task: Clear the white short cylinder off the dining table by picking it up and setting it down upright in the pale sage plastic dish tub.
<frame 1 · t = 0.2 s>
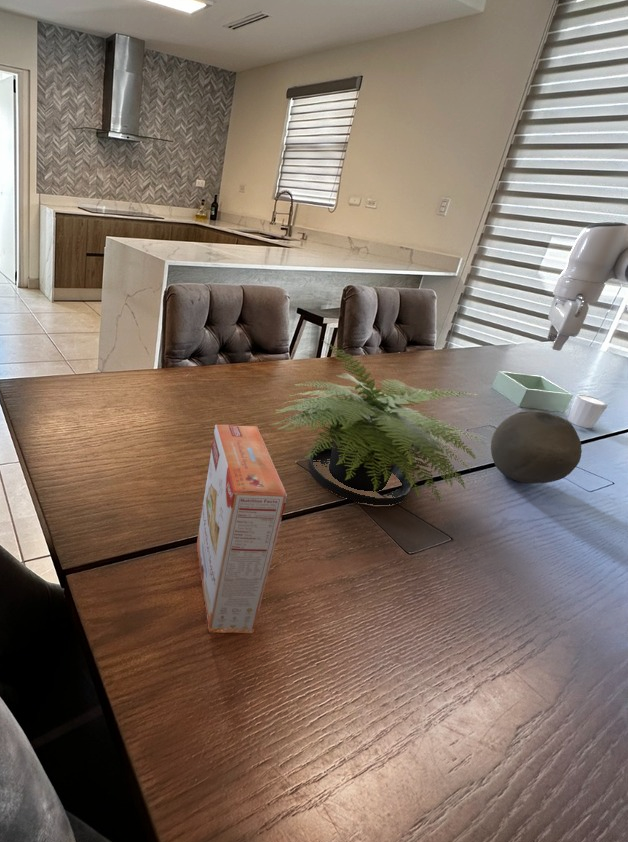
hand: (552, 344, 119), 20 cm above the table, tool pointing down, fingers open, 8 cm apart
dark brown rounded lump: (518, 480, 96), on the table
fern plant: (358, 478, 90), on the table
dish tub: (526, 399, 138), on the table
cracker box: (220, 588, 62), on the table
white short cylinder: (579, 423, 127), on the table
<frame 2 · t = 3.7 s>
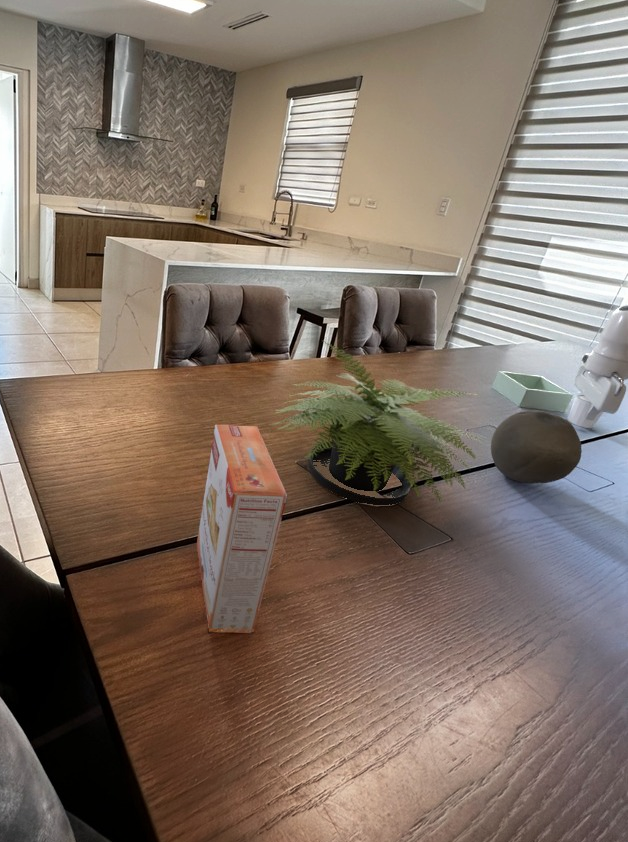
hand: (584, 414, 126), 3 cm above the table, tool pointing down, fingers closed on white short cylinder, 5 cm apart
white short cylinder: (579, 423, 127), on the table, touching gripper
everything else where it was.
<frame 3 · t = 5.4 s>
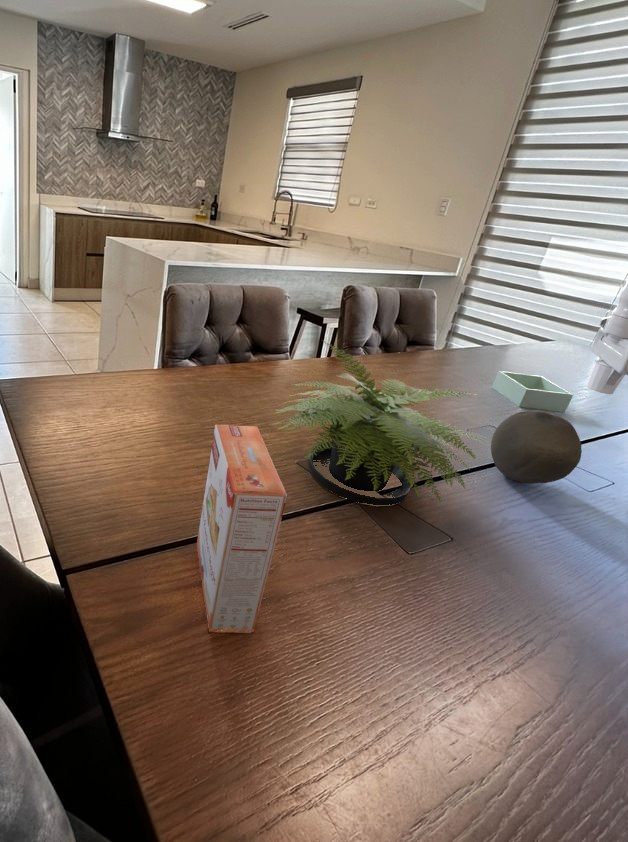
hand: (603, 380, 121), 13 cm above the table, tool pointing down, fingers closed on white short cylinder, 5 cm apart
white short cylinder: (599, 390, 122), point 10 cm above the table, touching gripper
everything else where it was.
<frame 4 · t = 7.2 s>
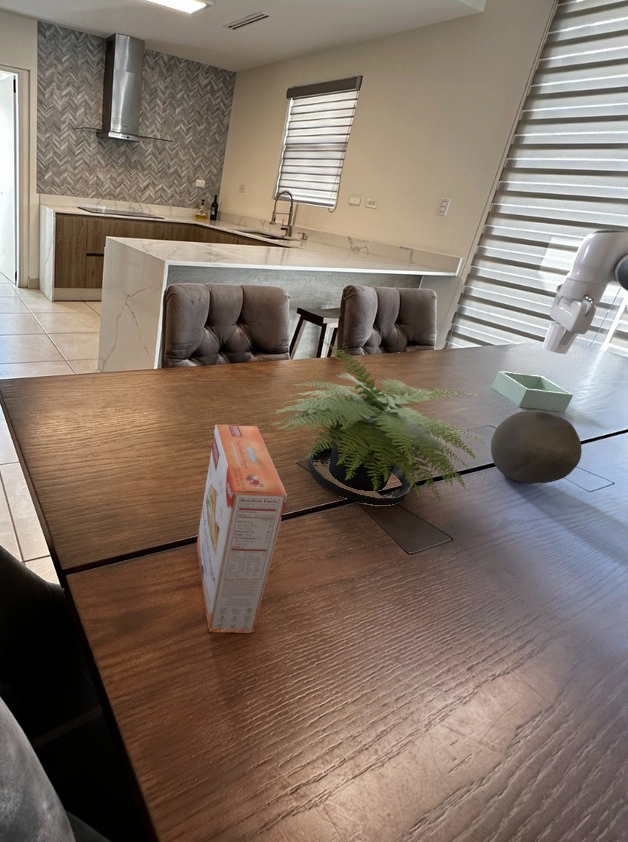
hand: (558, 341, 130), 19 cm above the table, tool pointing down, fingers closed on white short cylinder, 5 cm apart
white short cylinder: (553, 350, 131), point 16 cm above the table, touching gripper
everything else where it was.
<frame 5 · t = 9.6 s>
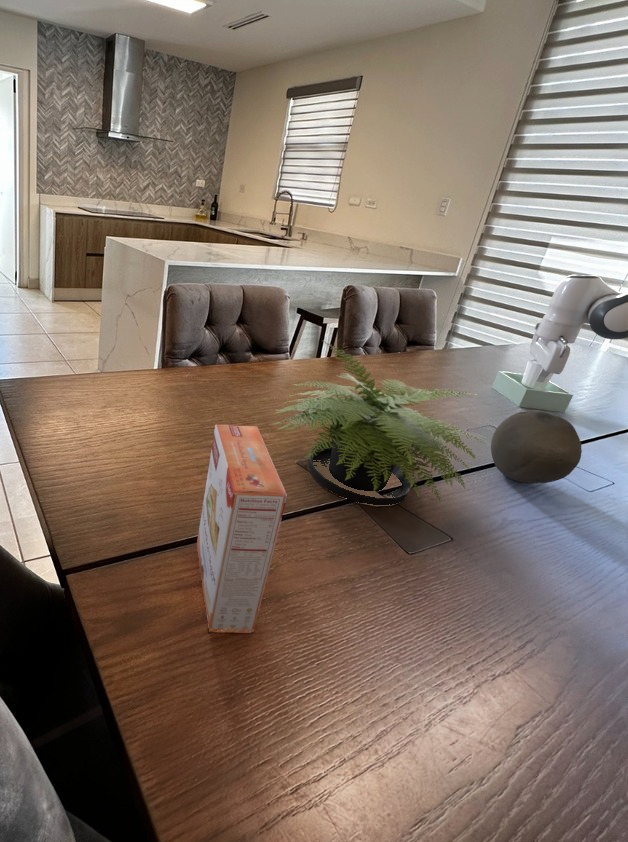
hand: (536, 377, 136), 7 cm above the table, tool pointing down, fingers closed on white short cylinder, 5 cm apart
white short cylinder: (532, 386, 137), point 4 cm above the table, touching gripper
everything else where it was.
when the fingers open (3 cm above the table, at t = 11.1 s): white short cylinder stays where it is, resting on dish tub.
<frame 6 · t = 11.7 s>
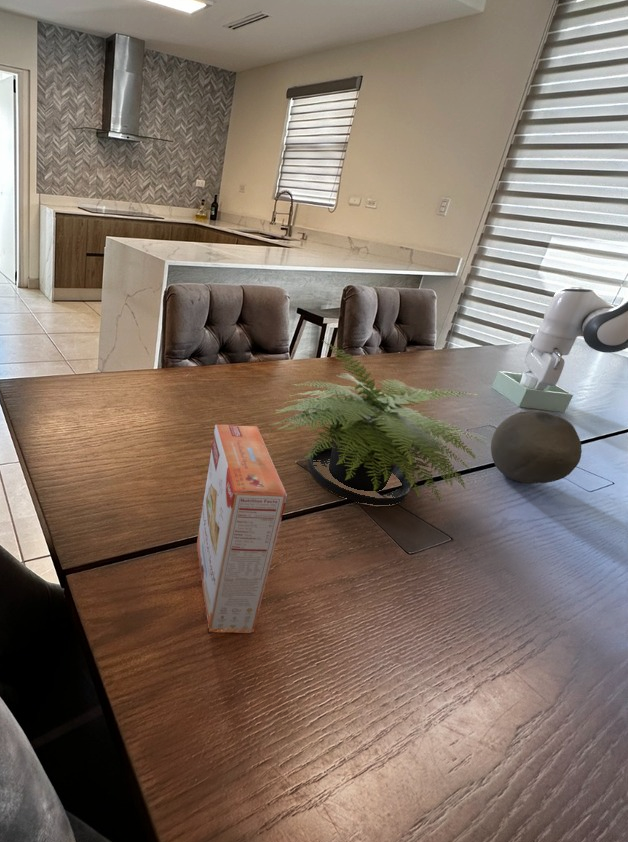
hand: (531, 388, 137), 3 cm above the table, tool pointing down, fingers open, 8 cm apart
white short cylinder: (527, 398, 138), resting on dish tub
everything else where it was.
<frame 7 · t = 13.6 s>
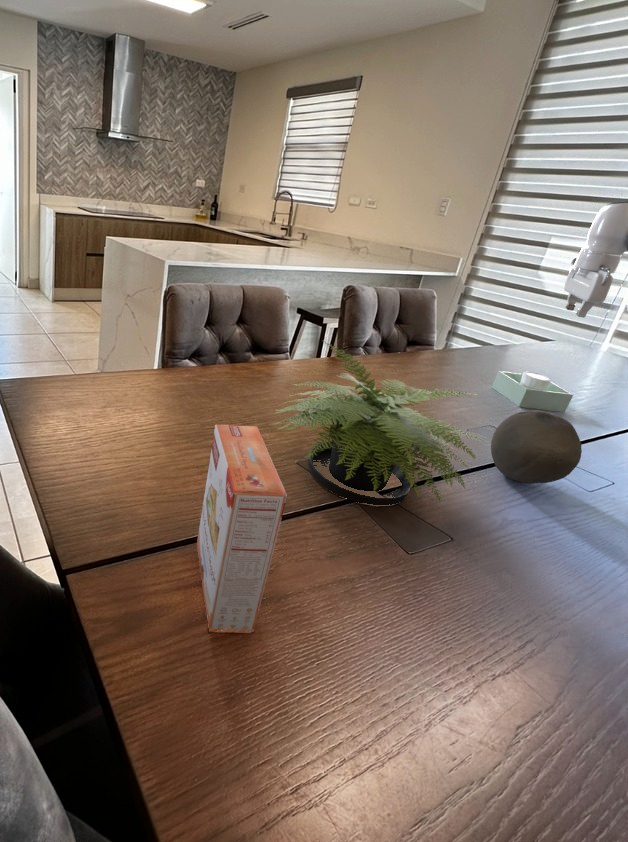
hand: (574, 313, 133), 26 cm above the table, tool pointing down, fingers open, 8 cm apart
nothing on the table moved.
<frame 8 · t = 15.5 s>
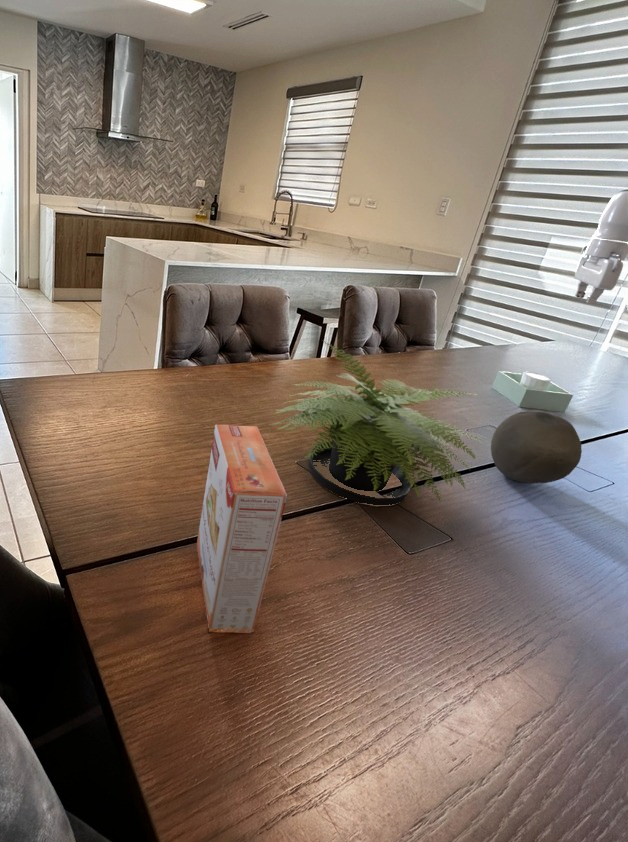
hand: (584, 300, 134), 29 cm above the table, tool pointing down, fingers open, 8 cm apart
nothing on the table moved.
at the end: white short cylinder inside the target area in the dish tub (0.0 cm from its centre), point 0.3 cm above the dish tub's base; white short cylinder tilted 0°; the gripper is holding nothing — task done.
